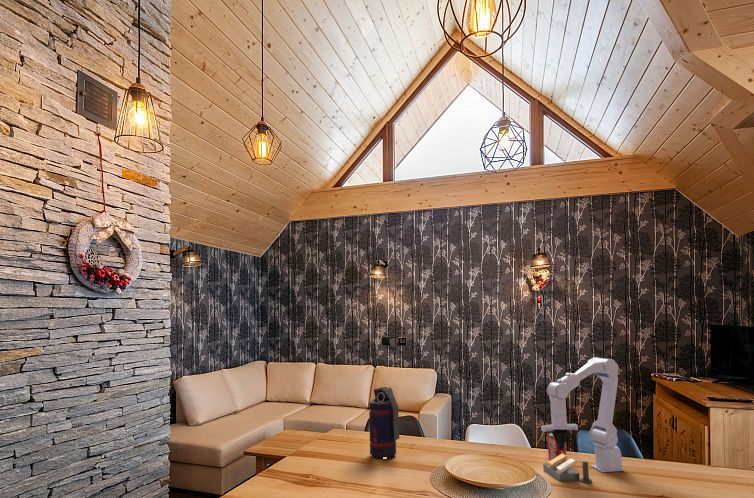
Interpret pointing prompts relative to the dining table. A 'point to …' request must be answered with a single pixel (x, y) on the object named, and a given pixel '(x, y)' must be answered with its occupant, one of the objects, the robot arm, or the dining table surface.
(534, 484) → the dining table surface
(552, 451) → the soda can
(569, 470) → the grey tray
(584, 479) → the post
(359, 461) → the dining table surface
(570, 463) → the paddle beige
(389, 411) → the grenade
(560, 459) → the paddle amber
